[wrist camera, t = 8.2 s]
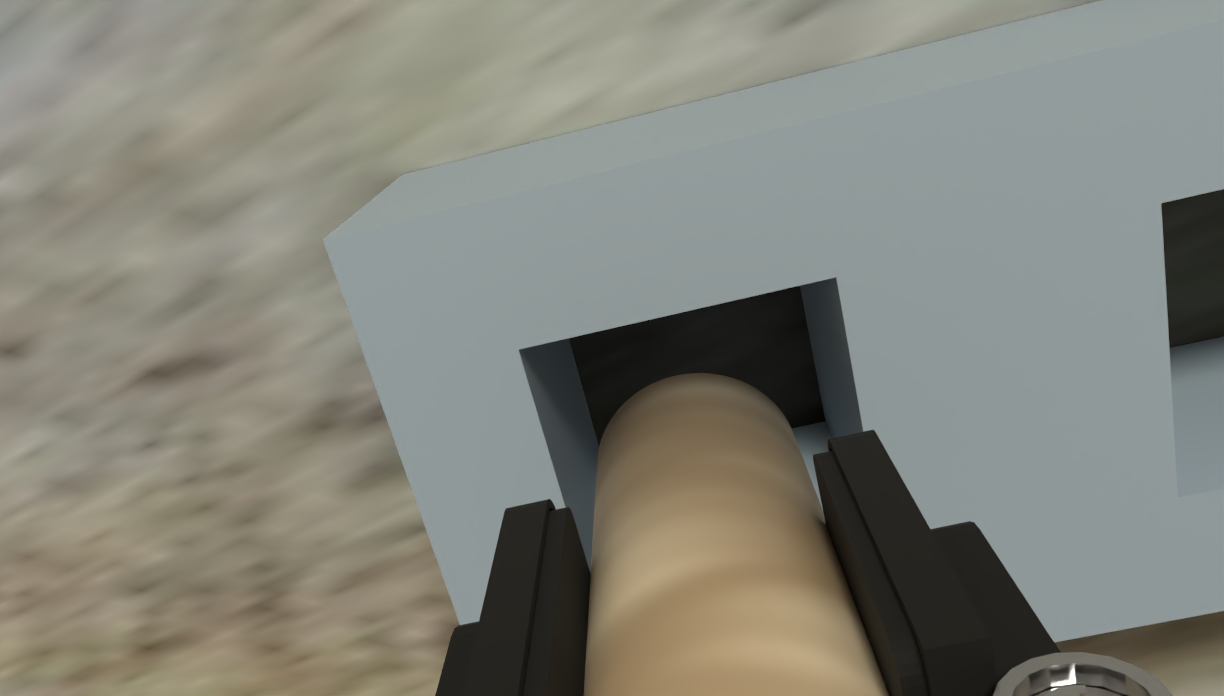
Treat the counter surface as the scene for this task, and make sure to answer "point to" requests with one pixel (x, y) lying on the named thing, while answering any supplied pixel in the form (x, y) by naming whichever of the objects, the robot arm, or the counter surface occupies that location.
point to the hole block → (850, 296)
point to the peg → (715, 555)
